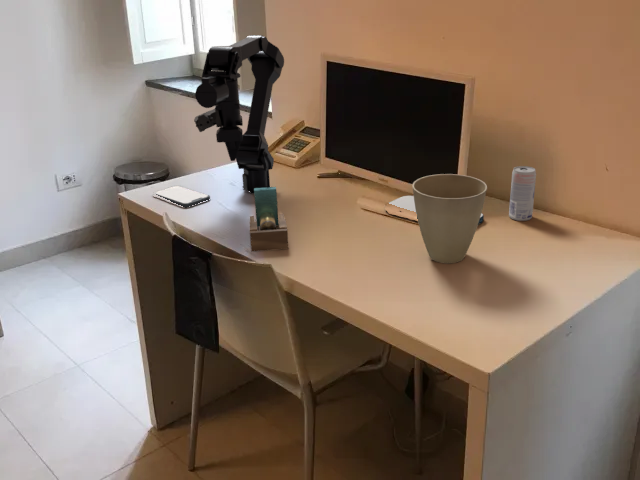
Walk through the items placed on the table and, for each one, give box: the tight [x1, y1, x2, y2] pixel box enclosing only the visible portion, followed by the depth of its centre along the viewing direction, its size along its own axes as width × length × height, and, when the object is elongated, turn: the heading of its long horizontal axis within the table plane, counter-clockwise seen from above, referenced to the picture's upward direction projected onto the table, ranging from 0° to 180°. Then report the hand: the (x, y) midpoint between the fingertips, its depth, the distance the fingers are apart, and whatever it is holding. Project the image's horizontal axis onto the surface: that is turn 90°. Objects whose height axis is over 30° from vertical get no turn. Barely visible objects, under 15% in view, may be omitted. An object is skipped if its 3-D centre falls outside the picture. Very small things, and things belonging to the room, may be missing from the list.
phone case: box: [154, 185, 211, 207], centre depth 185 cm, size 9×2×16 cm
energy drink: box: [508, 165, 537, 222], centre depth 161 cm, size 5×5×12 cm
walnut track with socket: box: [249, 213, 289, 252], centre depth 158 cm, size 17×8×4 cm, turn 6°
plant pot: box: [411, 173, 488, 264], centre depth 141 cm, size 15×15×16 cm
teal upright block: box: [253, 186, 279, 231], centre depth 159 cm, size 8×5×9 cm, turn 6°
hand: (232, 160), depth 174 cm, fingers closed
